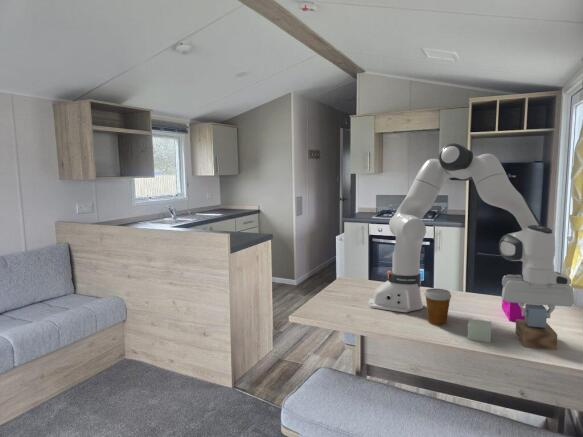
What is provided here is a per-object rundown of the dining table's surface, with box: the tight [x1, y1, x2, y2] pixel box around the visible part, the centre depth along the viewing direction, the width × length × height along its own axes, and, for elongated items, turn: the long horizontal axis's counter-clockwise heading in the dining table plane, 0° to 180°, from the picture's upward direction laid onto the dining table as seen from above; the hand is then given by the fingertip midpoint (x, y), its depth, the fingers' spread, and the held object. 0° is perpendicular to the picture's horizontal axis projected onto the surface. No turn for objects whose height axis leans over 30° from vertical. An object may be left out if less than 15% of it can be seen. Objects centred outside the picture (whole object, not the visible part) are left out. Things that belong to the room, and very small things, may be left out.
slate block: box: [524, 303, 548, 328], centre depth 132 cm, size 5×5×6 cm
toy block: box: [501, 297, 525, 323], centre depth 157 cm, size 15×6×8 cm, turn 162°
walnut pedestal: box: [515, 319, 558, 351], centre depth 132 cm, size 9×12×5 cm
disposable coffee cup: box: [424, 287, 452, 326], centre depth 150 cm, size 10×10×12 cm
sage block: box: [467, 318, 492, 344], centre depth 136 cm, size 7×7×5 cm
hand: (535, 316), depth 132 cm, fingers closed on slate block, 5 cm apart
